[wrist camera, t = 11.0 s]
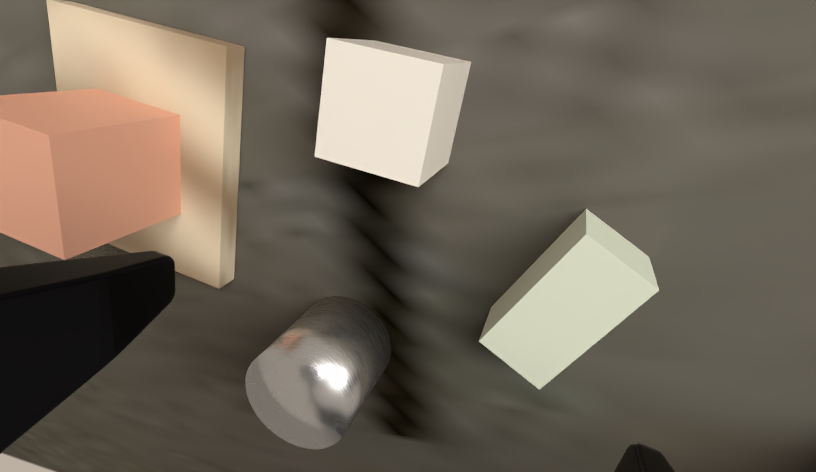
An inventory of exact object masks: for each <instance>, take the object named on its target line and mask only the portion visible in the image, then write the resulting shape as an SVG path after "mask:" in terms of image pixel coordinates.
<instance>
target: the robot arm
mask: <svg viewBox="0 0 816 472" xmlns="http://www.w3.org/2000/svg"><path fill="white" fill-rule="evenodd" d="M174 295H175V262H174V260H173V258H171V257H170V256H168V255H165V254H163V253H160V252H158V251H143V252H134V253H125V254H116V255H106V256H97V257H88V258H79V259H70V260H61V261H52V262H43V263H34V264H25V265H16V266H7V267H0V454H1V453H2V452H3V451H4V450H5V449H7V448H8V447H9V446H10V445H11V444H12V443H14V442H15V441H16V440H17V439H18V438H20V437H21V436H22V435H23V434H24V433H26V432H27V431H28V430H29V429H30V428H32V427H33V426H34V425H35V424H36V423H38V422H39V421H40V420H41V419H42V418H44V417H45V416H46V415H47V414H48V413H50V412H51V411H52V410H53V409H54V408H56V407H57V406H58V405H59V404H60V403H62V402H63V401H64V400H65V399H66V398H68V397H69V396H70V395H71V394H72V393H74V392H75V391H76V390H77V389H78V388H80V387H81V386H82V385H83V384H84V383H86V382H87V381H88V380H89V379H90V378H92V377H93V376H94V375H95V374H96V373H98V372H99V371H100V370H101V369H102V368H103V367H105V366H106V365H107V364H108V363H109V362H110V361H112V360H113V359H114V358H115V357H116V356H117V355H118V354H119V353H120V352H121V351H122V350H123V349H124V348H125V347H126V346H127V345H128V344H129V343H130V342H131V341H132V340H133V339H134V338H135V337H136V336H137V335H138V334H139V333H140V332H141V331H142V330H143V329H145V328H146V327H147V326H148V325H149V324H150V323H151V322H152V321H153V320H154V319H155V318H156V317H157V316H158V315H159V314H160V313H161V312H162V311H163V310H164V309H165V308H166V307H167V306H168V305H169V303H170V302H171V301H172V299H173V297H174ZM614 472H675V471H674V470H673V468H672V467H671V465H670V464H669V463H668V461H667V460H666V458H665V457H664V456H663V455H662V453H661V452H659V451H657V450H655V449H653V448H650V447H648V446H645V445H643V444H640V443H637V442H635V443H632V444H631V445H630V446H629V447H628V448H627V450H626V452H625V453H624V455H623V457H622V459H621V461H620V462H619V464H618V466H617V468H616V469H615V471H614Z"/></svg>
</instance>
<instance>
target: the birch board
mask: <svg viewBox="0 0 816 472" xmlns="http://www.w3.org/2000/svg"><path fill="white" fill-rule="evenodd" d="M47 9H48V18H49V26H50V35H51V43H52V52H53V60H54V69H55V77H56V86H57V91H67V90H81V89H94V88H96V89H100V90H103V91H106V92H109V93H112V94H116V95H119V96H122V97H125V98H128V99H131V100H135V101H138V102H141V103H144V104H147V105H151V106H154V107H157V108H160V109H163V110H166V111H170V112H173V113H176V114H179V115H180V155H181V214H179V215H176V216H174V217H171V218H169V219H166V220H164V221H161V222H159V223H156V224H154V225H151V226H149V227H146V228H144V229H141V230H139V231H136V232H134V233H131V234H129V235H126V236H124V237H121V238H119V239H116V240H114V241H111V242H109V243H107V244H110V245H112V246H115V247H117V248H120V249H122V250H124V251H127V252H129V253H134V252H143V251H158V252H160V253H163V254H165V255H168V256H170V257H171V258H173V260H174V262H175V271H176V272H179V273H181V274H184V275H186V276H189V277H191V278H194V279H196V280H199V281H201V282H204V283H206V284H208V285H211V286H213V287H216V288H218V289H219V288H221V287H223V286H224V285H226V284H227V283H229V282H230V281H232V280H233V279H234V271H235V249H236V227H237V206H238V184H239V163H240V141H241V119H242V98H243V76H244V55H245V47H244V46H241V45H237V44H233V43H229V42H225V41H221V40H217V39H214V38H210V37H206V36H202V35H198V34H194V33H191V32H187V31H183V30H179V29H175V28H171V27H168V26H164V25H160V24H156V23H152V22H148V21H144V20H141V19H137V18H133V17H129V16H125V15H121V14H118V13H114V12H110V11H106V10H102V9H98V8H94V7H91V6H87V5H83V4H79V3H75V2H71V1H61V0H47Z"/></svg>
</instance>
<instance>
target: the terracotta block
mask: <svg viewBox="0 0 816 472" xmlns="http://www.w3.org/2000/svg"><path fill="white" fill-rule="evenodd" d="M179 214H181V155H180V115H179V114H176V113H173V112H170V111H166V110H163V109H160V108H157V107H154V106H151V105H147V104H144V103H141V102H138V101H135V100H131V99H128V98H125V97H122V96H119V95H116V94H112V93H109V92H106V91H103V90H100V89H96V88H94V89H81V90H67V91H54V92H41V93H27V94H14V95H1V96H0V233H3V234H5V235H7V236H10V237H12V238H14V239H17V240H19V241H21V242H24V243H26V244H28V245H31V246H33V247H35V248H38V249H40V250H42V251H45V252H47V253H49V254H52V255H54V256H56V257H59V258H61V259H63V260H66V259H69V258H71V257H74V256H76V255H79V254H81V253H84V252H86V251H89V250H91V249H94V248H96V247H99V246H101V245H104V244H106V243H109V242H111V241H114V240H116V239H119V238H121V237H124V236H126V235H129V234H131V233H134V232H136V231H139V230H141V229H144V228H146V227H149V226H151V225H154V224H156V223H159V222H161V221H164V220H166V219H169V218H171V217H174V216H176V215H179Z"/></svg>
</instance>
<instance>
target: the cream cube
mask: <svg viewBox="0 0 816 472" xmlns="http://www.w3.org/2000/svg"><path fill="white" fill-rule="evenodd" d="M470 65H471V62H469V61H465V60H460V59H456V58H451V57H447V56H442V55H438V54H433V53H429V52H424V51H420V50H415V49H411V48H406V47H402V46H397V45H393V44H388V43H384V42H379V41H374V40H357V39H340V38H327V42H326V51H325V61H324V70H323V80H322V90H321V99H320V109H319V119H318V128H317V138H316V147H315V157H317V158H321V159H324V160H327V161H331V162H334V163H338V164H341V165H344V166H348V167H351V168H355V169H358V170H361V171H365V172H368V173H372V174H375V175H378V176H382V177H385V178H389V179H392V180H395V181H399V182H402V183H406V184H409V185H412V186H416V187H419V186H421V185H422V184H423V183H424V182H426V181H427V180H428V179H429V178H431V177H432V176H433V175H434V174H435V173H437V172H438V171H439V170H440V169H442V168H443V167H444V166H445V165H447V164H448V161H449V157H450V153H451V148H452V144H453V139H454V135H455V131H456V126H457V122H458V118H459V113H460V109H461V104H462V100H463V96H464V91H465V87H466V82H467V78H468V74H469V69H470Z"/></svg>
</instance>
